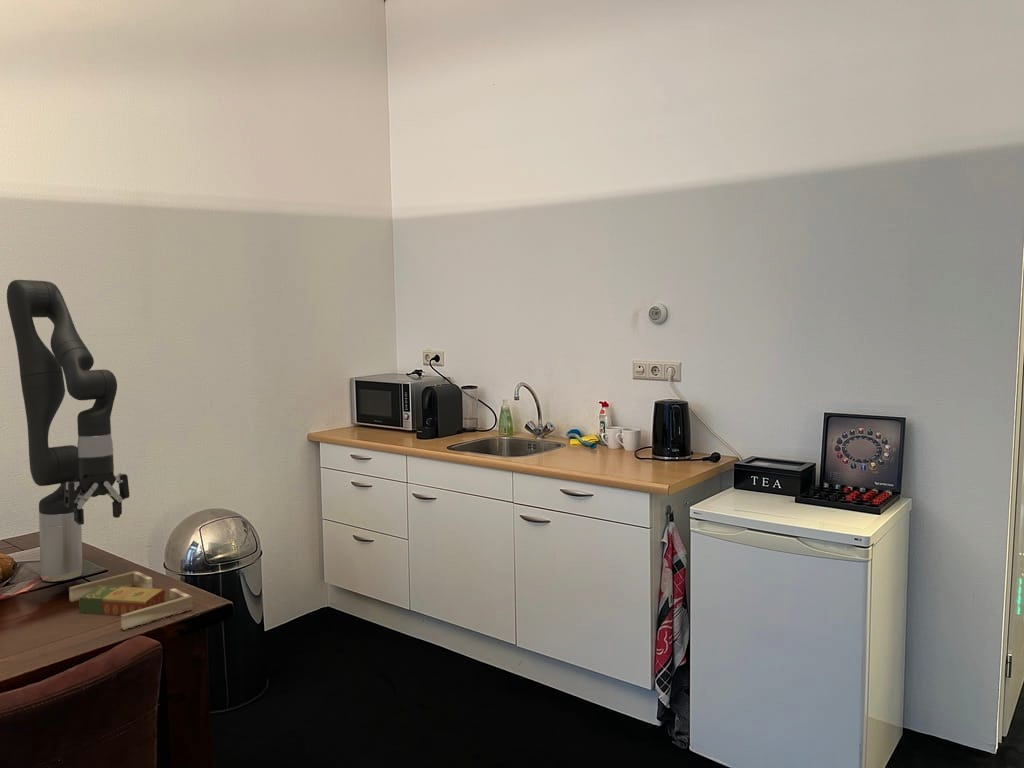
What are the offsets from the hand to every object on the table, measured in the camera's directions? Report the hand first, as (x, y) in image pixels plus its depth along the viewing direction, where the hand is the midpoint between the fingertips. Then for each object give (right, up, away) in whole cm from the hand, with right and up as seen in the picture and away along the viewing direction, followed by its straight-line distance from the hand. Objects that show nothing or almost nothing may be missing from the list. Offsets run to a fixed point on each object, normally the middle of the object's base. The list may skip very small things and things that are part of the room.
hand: (98, 520), depth 195 cm
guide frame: (+11, -19, -6) cm, 22 cm away
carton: (+10, -19, -8) cm, 23 cm away
